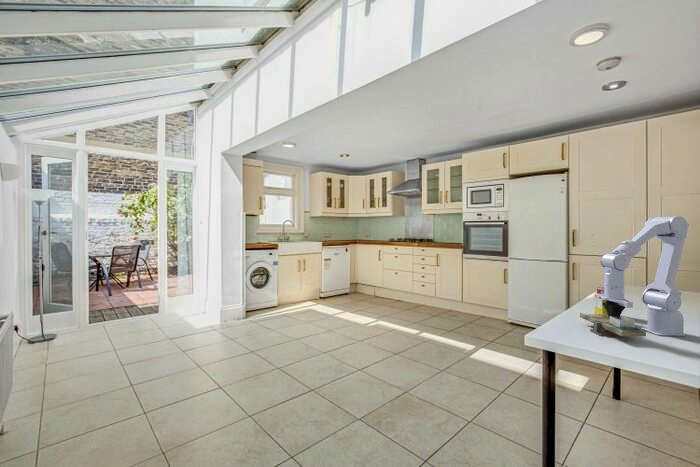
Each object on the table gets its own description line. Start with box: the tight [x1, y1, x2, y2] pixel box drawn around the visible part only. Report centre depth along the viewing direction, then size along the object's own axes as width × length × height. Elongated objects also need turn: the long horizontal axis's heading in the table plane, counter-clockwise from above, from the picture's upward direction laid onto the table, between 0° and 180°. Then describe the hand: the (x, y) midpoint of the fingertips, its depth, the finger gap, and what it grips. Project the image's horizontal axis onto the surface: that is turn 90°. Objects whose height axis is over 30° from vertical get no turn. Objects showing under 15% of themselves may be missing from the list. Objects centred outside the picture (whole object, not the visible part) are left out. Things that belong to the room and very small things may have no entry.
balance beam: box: [579, 312, 647, 337], centre depth 120 cm, size 22×8×2 cm, turn 176°
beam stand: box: [589, 322, 621, 337], centre depth 119 cm, size 5×12×4 cm, turn 86°
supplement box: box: [594, 293, 608, 316], centre depth 135 cm, size 6×6×11 cm
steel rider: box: [609, 315, 636, 330], centre depth 114 cm, size 5×5×4 cm
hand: (613, 322), depth 118 cm, fingers closed
